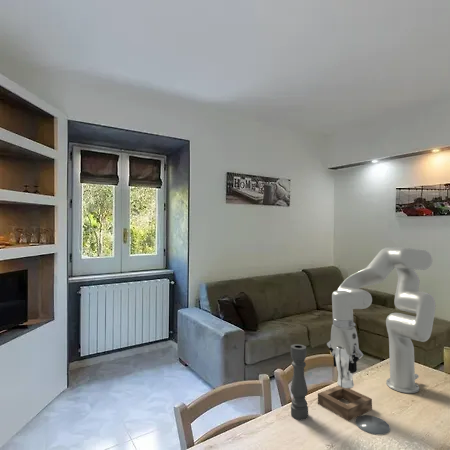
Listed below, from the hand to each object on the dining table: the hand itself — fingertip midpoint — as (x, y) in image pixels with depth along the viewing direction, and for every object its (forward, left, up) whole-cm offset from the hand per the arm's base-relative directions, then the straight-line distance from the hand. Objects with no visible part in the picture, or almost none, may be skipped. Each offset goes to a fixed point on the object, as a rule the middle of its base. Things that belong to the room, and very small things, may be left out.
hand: (344, 368), depth 124 cm
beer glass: (0, 0, -7) cm, 7 cm away
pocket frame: (+1, 0, -14) cm, 14 cm away
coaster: (+3, +13, -14) cm, 19 cm away
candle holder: (+20, -5, -15) cm, 25 cm away
